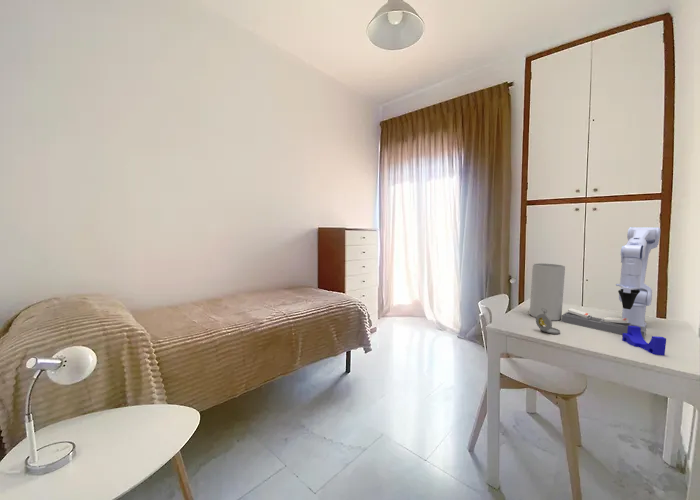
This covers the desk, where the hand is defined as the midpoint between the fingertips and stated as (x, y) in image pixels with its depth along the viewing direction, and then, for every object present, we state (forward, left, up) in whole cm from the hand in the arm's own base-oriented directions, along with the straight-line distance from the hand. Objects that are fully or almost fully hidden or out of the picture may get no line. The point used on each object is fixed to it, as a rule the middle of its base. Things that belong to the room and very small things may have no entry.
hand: (627, 307), depth 114 cm
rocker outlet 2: (0, -3, -6) cm, 7 cm away
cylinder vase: (+2, -28, -11) cm, 30 cm away
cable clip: (+15, +6, -11) cm, 19 cm away
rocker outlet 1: (0, -16, -6) cm, 17 cm away
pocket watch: (+24, -21, -11) cm, 33 cm away
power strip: (0, -8, -10) cm, 13 cm away
